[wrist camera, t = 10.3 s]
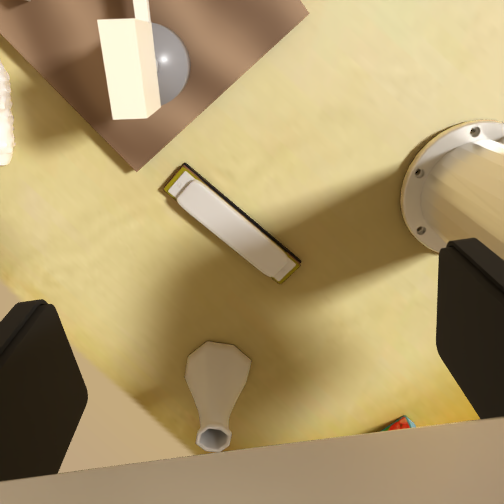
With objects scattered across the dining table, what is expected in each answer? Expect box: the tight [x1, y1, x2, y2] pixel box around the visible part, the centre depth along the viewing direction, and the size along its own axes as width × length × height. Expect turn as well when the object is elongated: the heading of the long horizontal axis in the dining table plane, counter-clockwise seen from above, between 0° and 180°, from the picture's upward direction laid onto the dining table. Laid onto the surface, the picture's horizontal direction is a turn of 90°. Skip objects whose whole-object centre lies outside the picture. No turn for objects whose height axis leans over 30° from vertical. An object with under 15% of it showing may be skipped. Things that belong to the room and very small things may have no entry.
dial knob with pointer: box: [97, 0, 191, 120], centre depth 28 cm, size 13×6×10 cm, turn 2°
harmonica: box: [163, 163, 301, 284], centre depth 42 cm, size 15×3×2 cm, turn 48°
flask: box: [185, 341, 252, 452], centre depth 45 cm, size 7×7×10 cm
